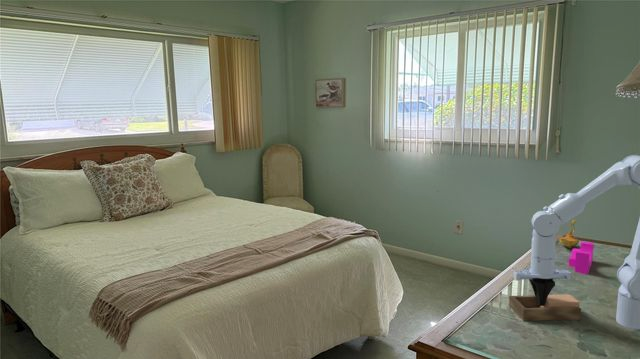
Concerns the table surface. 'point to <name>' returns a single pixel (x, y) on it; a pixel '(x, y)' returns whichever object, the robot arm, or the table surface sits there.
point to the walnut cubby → (541, 310)
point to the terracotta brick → (560, 301)
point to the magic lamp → (569, 239)
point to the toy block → (582, 257)
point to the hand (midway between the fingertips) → (540, 304)
